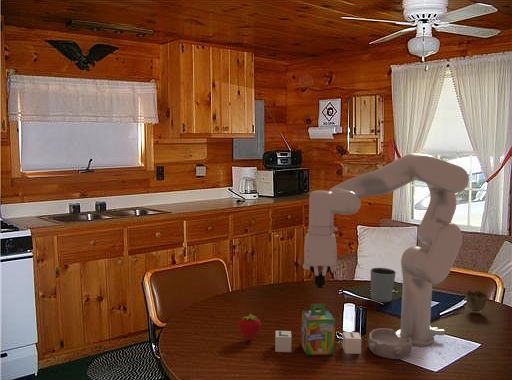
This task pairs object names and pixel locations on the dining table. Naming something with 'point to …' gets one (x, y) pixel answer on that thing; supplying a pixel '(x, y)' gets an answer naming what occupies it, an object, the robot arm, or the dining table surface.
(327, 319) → the chalk box
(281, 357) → the dining table surface
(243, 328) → the strawberry
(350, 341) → the cream numeral block
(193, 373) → the dining table surface
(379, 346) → the dish
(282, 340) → the white marked cube
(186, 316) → the dining table surface
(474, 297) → the cup
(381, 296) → the grey cylinder
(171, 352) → the dining table surface
